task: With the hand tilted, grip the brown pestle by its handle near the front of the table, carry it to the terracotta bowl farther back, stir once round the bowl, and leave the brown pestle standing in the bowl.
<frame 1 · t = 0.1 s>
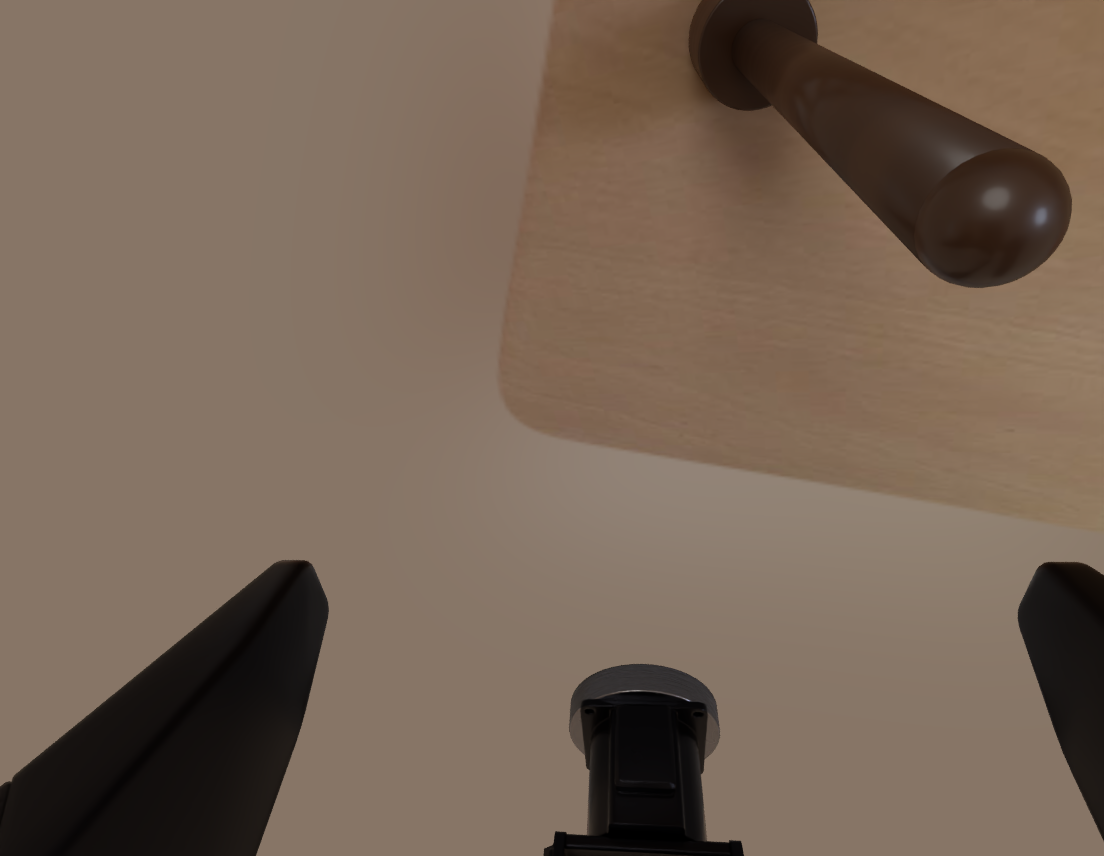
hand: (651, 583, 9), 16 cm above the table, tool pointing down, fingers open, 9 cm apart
brown pestle: (739, 34, 19), on the table
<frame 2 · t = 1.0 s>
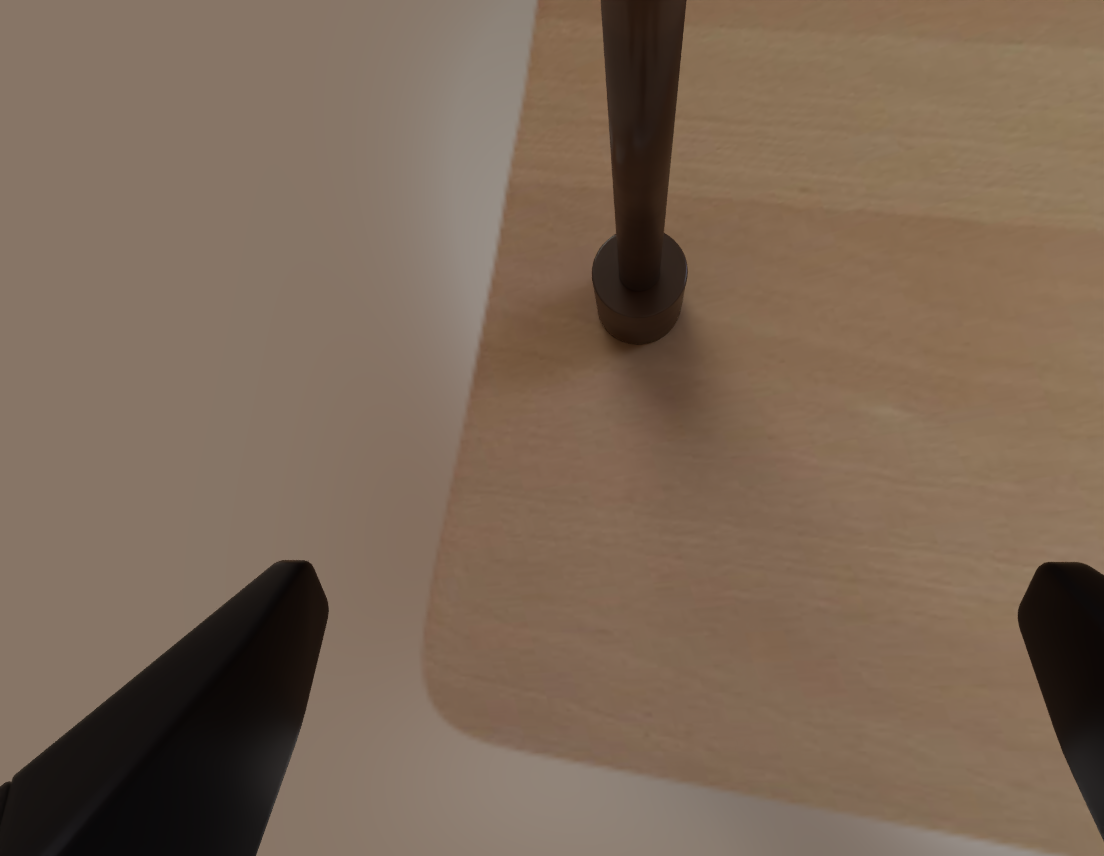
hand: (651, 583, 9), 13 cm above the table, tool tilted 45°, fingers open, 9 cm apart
brown pestle: (638, 304, 23), on the table
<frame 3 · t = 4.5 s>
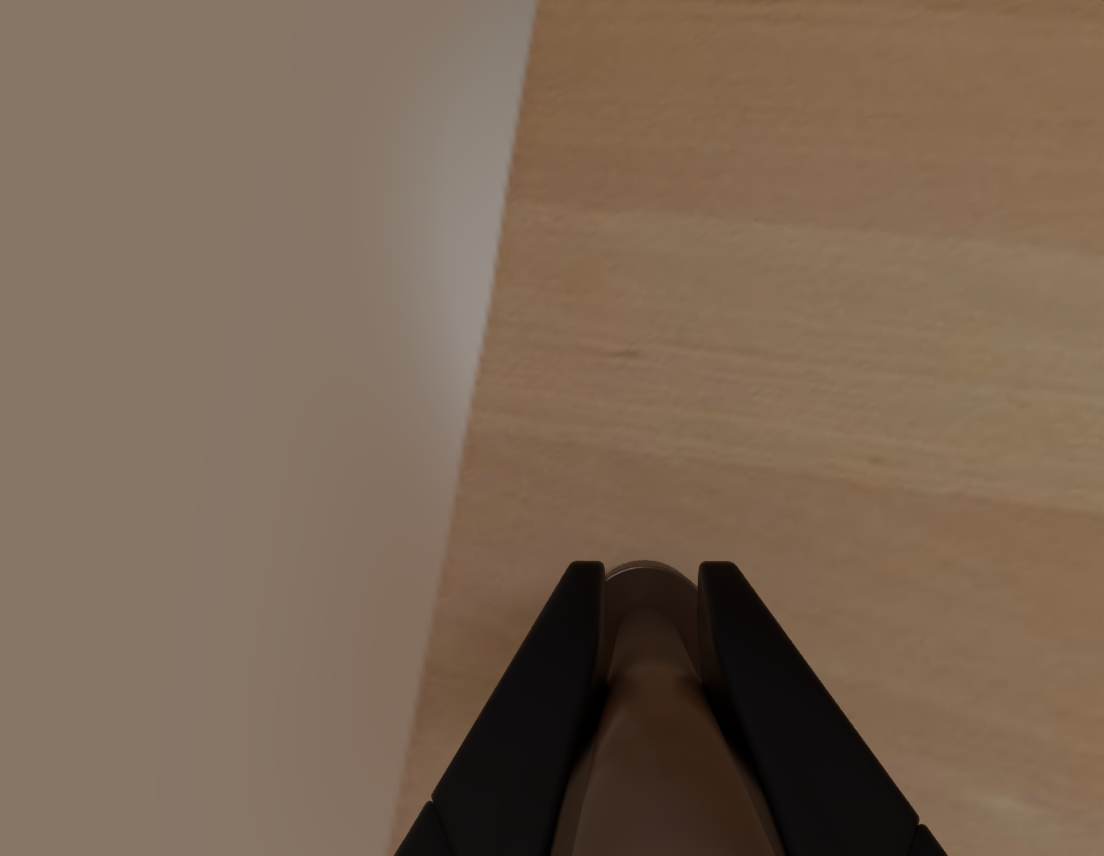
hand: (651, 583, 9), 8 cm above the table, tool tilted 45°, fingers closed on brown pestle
brown pestle: (645, 619, 16), on the table, touching gripper
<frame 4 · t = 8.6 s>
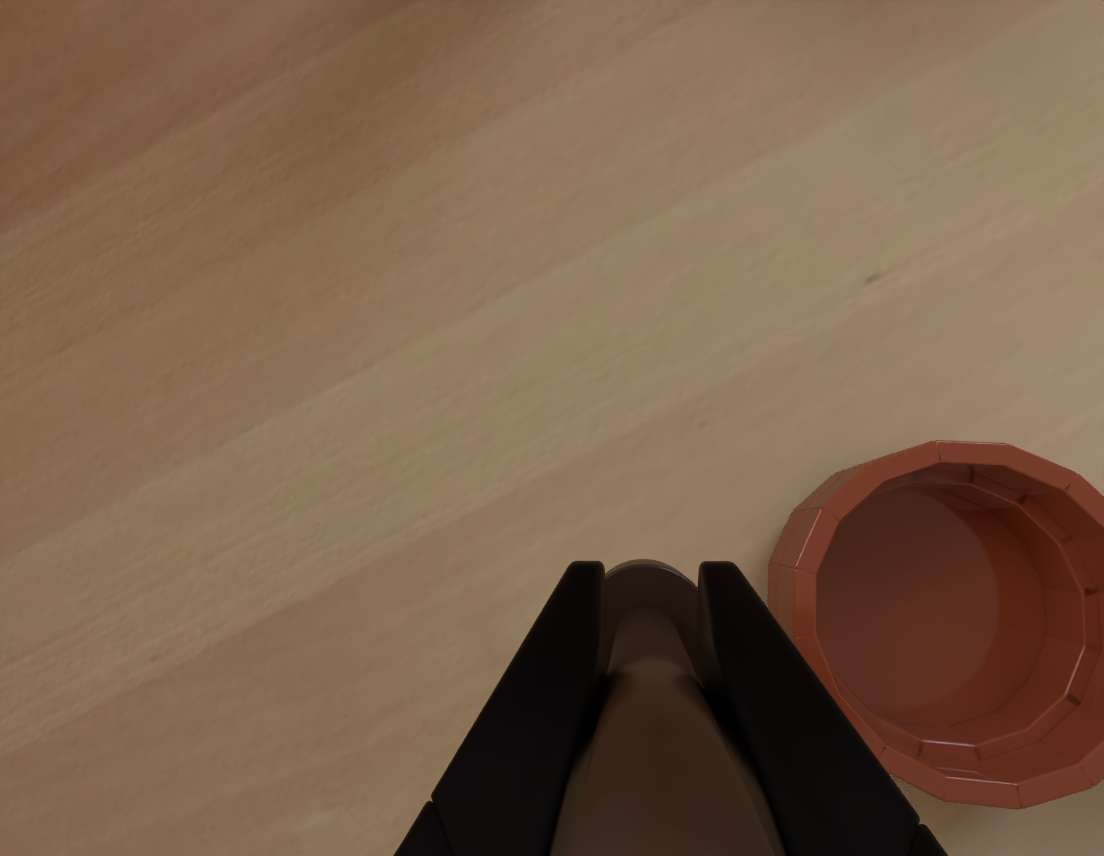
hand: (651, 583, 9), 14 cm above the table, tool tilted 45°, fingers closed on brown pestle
brown pestle: (644, 617, 16), point 5 cm above the table, touching gripper
bowl: (911, 601, 21), on the table
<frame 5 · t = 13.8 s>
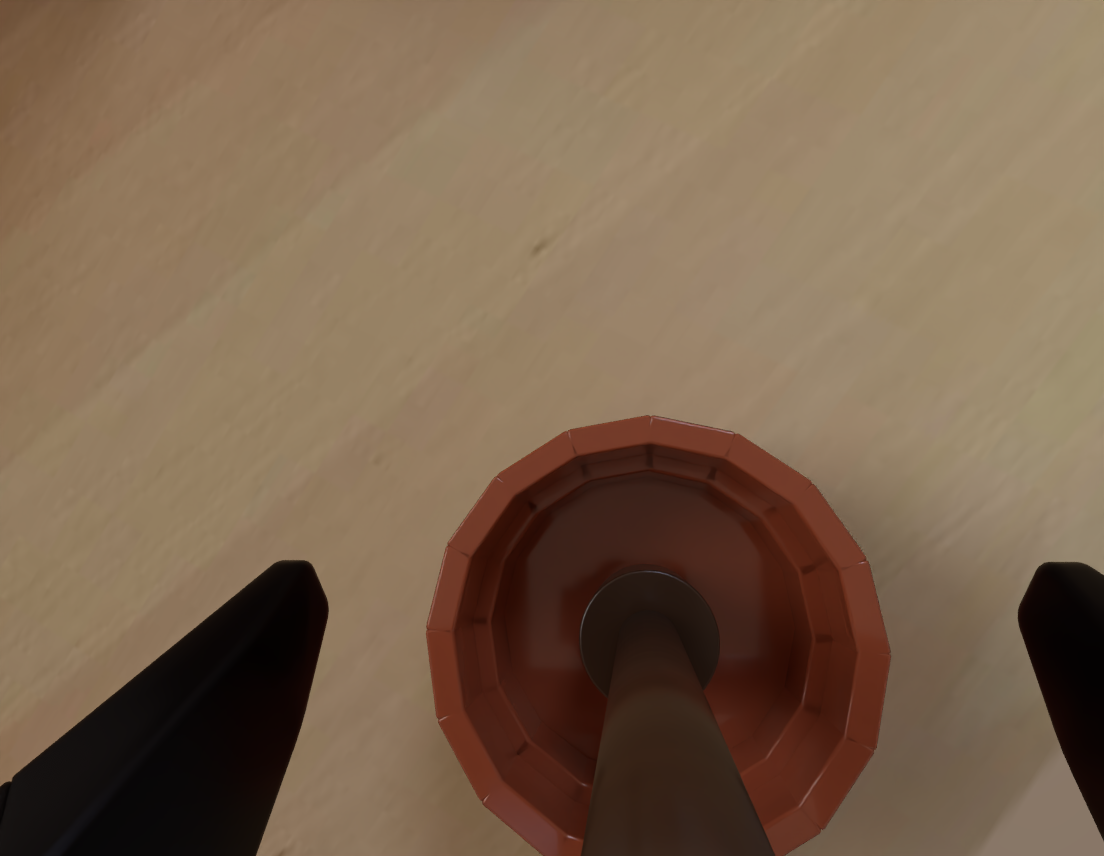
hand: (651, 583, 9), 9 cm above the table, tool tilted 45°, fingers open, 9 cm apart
brown pestle: (646, 622, 16), point 1 cm above the table, touching bowl
bowl: (645, 617, 17), on the table
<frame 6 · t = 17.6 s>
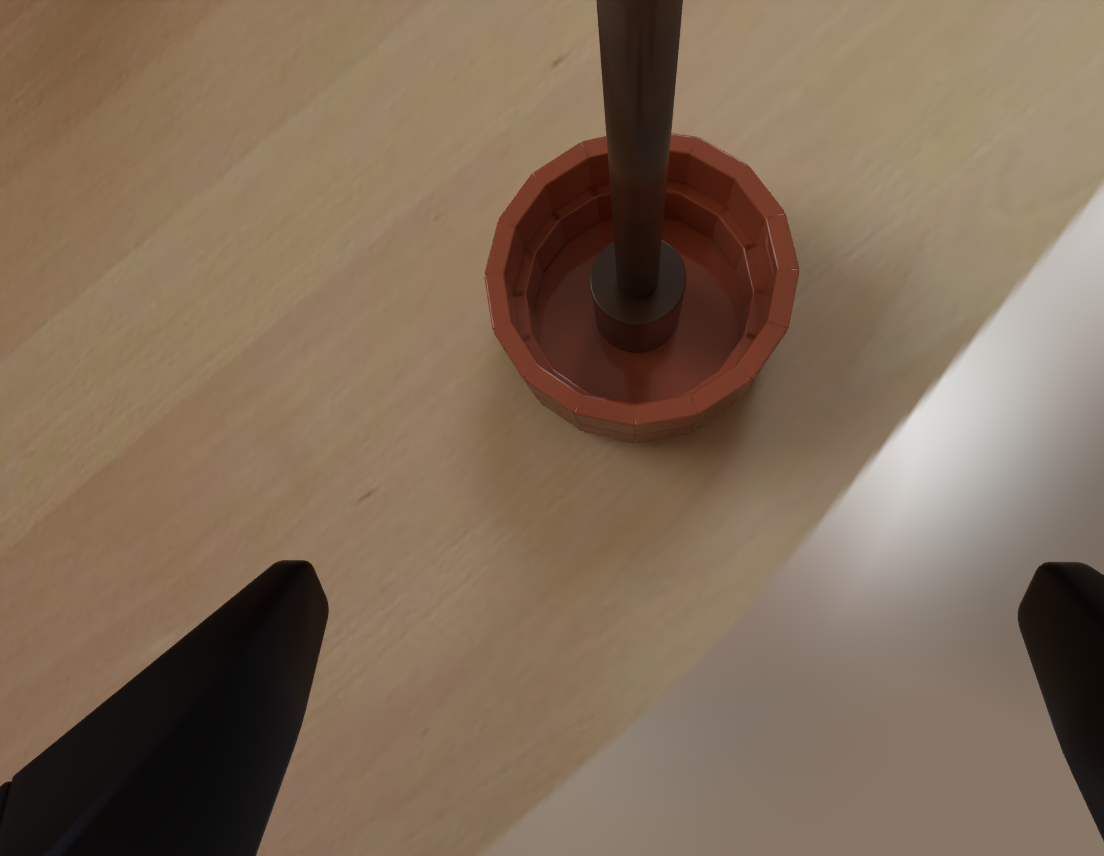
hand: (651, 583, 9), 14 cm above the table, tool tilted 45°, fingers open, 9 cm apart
brown pestle: (637, 312, 23), point 1 cm above the table, touching bowl
bowl: (636, 316, 23), on the table
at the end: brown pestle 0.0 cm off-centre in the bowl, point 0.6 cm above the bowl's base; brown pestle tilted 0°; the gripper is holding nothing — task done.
